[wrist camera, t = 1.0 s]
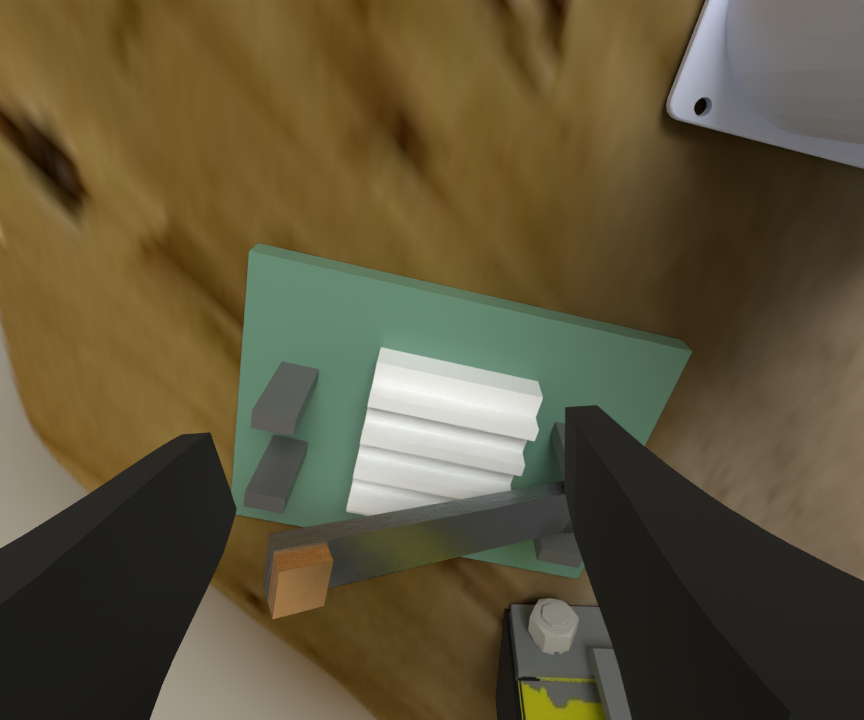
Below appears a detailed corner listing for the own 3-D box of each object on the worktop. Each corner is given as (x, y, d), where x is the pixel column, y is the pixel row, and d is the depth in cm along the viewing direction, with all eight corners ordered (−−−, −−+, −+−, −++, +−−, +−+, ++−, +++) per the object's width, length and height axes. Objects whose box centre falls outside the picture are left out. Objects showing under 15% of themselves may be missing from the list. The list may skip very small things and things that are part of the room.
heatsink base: (681, 339, 20) (737, 400, 16) (573, 562, 26) (596, 647, 22) (258, 243, 19) (209, 283, 15) (237, 497, 24) (197, 575, 20)
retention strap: (584, 474, 20) (608, 499, 19) (566, 513, 21) (588, 540, 20) (268, 529, 14) (279, 569, 13) (262, 580, 15) (272, 621, 14)
